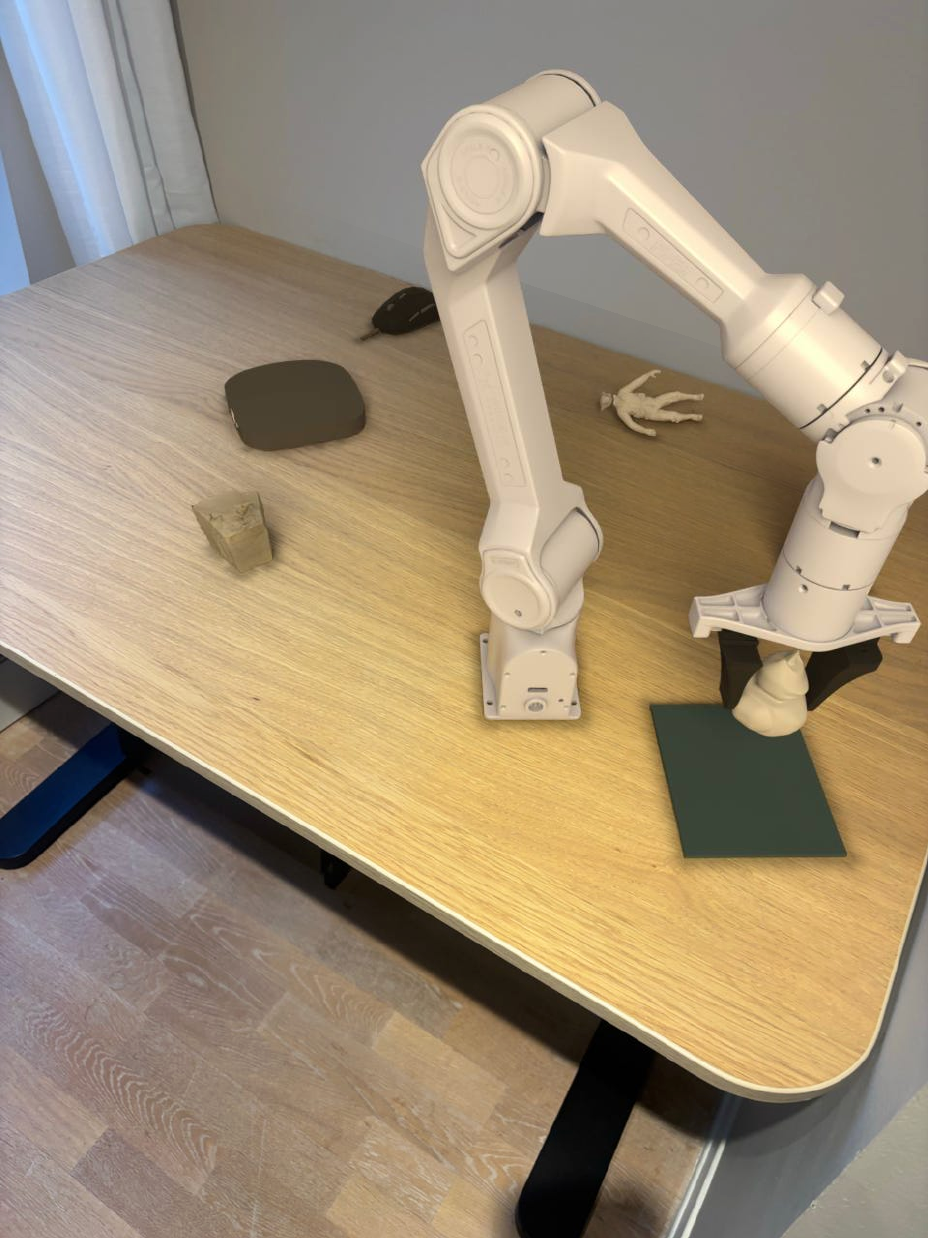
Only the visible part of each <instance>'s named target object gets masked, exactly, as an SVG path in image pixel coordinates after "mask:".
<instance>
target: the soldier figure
mask: <svg viewBox="0 0 928 1238" xmlns="http://www.w3.org/2000/svg"><path fill="white" fill-rule="evenodd" d="M660 373H661V370H660V369H653V370H650V371H648V372H645V373H643V374H642V375H640V376H639V377H638V378H635V379H634V380H632V381H631V382H630V383H628V384H627V385H625V386H623V387H622V388H620V389H619V390H618V392H617V394H611V393H606V392H605V391H601V396H600V399H599V400H600V401H599V403H600V412H601V413H602V412H603V411H604V410H605V409H607V408H609V407H610V405H611V404H612V405H613V406H614V407H615V408H614V409H615V410H616V413H617V416H618V418H620V420H621V421H623V423H624V424H625V425H626V426H627V427H628V428H629V429H631V430H633V431H635V432H637V433H639V434H642V435H643V434H644V435H646V436H648V437H656V435H657V431H656V429H653V428H645V427H644V426H642V425H641V424H638V422H636V421H634V420H633V418H636V419H643V420H645V421H648V420H649V421H653V422H671V423H676V424H678V423H680V422H682V421H687V420H691V421H695V422H700V421H702V419H703V414H700V413H699V414H697V413H679V412H678V411H675V410H664V409H661V408H663V407H665V406H667V405H670V404H672V403H676V402H680V401H687V400H689V401H692V402H702V401H703V399H704V397H705V393H697V394H691V393H684V392H680V391H678V390H675V391H672V392H671V391H668V392H665V393H663V394H660V395H658V396H655V397H652V396H646V394H645V393H643V392H635V393H634V391H635V390H636V389H638V388H640V387H641V386H642V385H643V384H644V383H645V382H647V380H649V378H650V377H651V378H655V379H656V378H657V376H655V374H660ZM631 416H633V418H632V417H631Z"/></svg>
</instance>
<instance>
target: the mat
mask: <svg viewBox="0 0 928 1238" xmlns="http://www.w3.org/2000/svg"><path fill="white" fill-rule="evenodd" d="M649 710H650V715H651V719H652V722H653V727H654V732H655V737H656V740H657V745H658V749H659V754H660V758H661V762H662V767H663V770H664V775H665V780H666V783H667V787H668V792H669V797H670V801H671V806H672V809H673V814H674V818H675V823H676V826H677V832H678V835H679V840H680V844H681V848H682V853H683V857H684V859H738V858H739V859H742V858H743V859H744V858H745V859H746V858H747V859H748V858H749V859H750V858H751V859H752V858H753V859H757V858H758V859H759V858H761V859H762V858H764V859H765V858H846V857H847V856H848V853H847V850H846V848H845V845H844V842H843V840H842V836H841V834H840V831H839V828H838V826H837V824H836V821H835V818H834V816H833V813H832V810H831V807H830V804H829V802H828V799H827V797H826V794H825V791H824V789H823V786H822V784H821V781H820V778H819V776H818V773H817V770H816V767H815V765H814V762H813V759H812V757H811V754H810V752H809V749H808V746H807V744H806V741H805V738H804V735H803V733H802V731H801V728H799V729H798V730H797V731H795V732H793V733H791V734H789V735H784V736H775V737H769V736H764V735H761V734H759V733H757V732H755V731H753V730H750V729H749V728H747V727H746V726H745V725H743V724H742V723H741V722H739V721H738V720H737V719H736V718H735V717H734V716H733V713H732V709H725V708H724V705H723V704H650V705H649Z"/></svg>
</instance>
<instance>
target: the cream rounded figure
mask: <svg viewBox="0 0 928 1238" xmlns="http://www.w3.org/2000/svg"><path fill="white" fill-rule="evenodd" d="M800 651H801V649H787V650H782V651H777V652H773V653H771V654H769V655H767V656H765V657H764V658H763V659H761V661H762V664H763V667H762V668H760V669H759V670H758V671H757V672H756V673H755V674H754V675H753V676H752V678H751V679H750V680H749V682H748V683H747V685H746V687H745V689H744V691H743V694H742V696H741V699H740V701H739V703H738V705H737V706H736V707H735V708H734V709H732V713H733V716H734V717H735V718H736V719H737V720H738V721H739V722H741V723H742V724H743V725H745V726H746V727H747V728H749V729H750V730H753V731H755V732H757V733H759V734H761V735H764V736H769V737H775V736H784V735H789V734H791V733H793V732H795V731H797V730H798V729H799V728H800V729H801V728H802V727H803V726H804V725H805V723H806V721H807V719H808V711H807V704H806V697H805V693H807V691H808V688H809V685H808V679H807V675H806V671H805V667H806V666H805V664H804V662H803V660H802V658H801V655H800Z"/></svg>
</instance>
